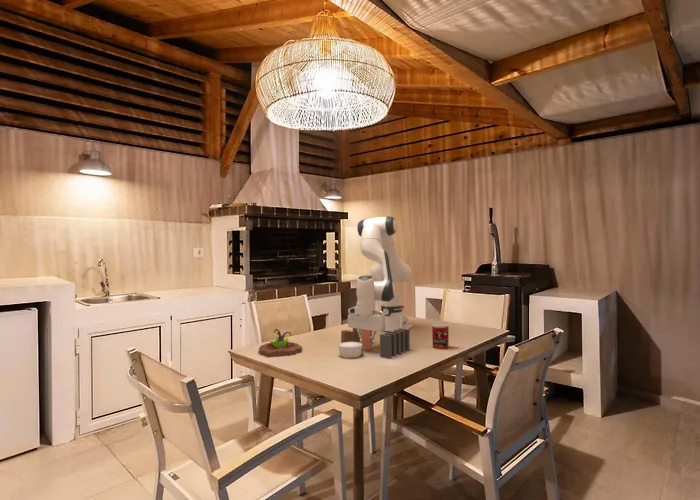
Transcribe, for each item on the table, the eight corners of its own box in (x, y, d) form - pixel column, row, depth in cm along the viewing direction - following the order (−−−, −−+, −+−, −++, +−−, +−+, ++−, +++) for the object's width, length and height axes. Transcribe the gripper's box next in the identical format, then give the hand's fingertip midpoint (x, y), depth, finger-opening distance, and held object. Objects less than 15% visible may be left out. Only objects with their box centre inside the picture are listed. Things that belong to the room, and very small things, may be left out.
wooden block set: (346, 348, 203) (347, 327, 202) (336, 343, 210) (337, 323, 209) (374, 343, 214) (375, 323, 213) (363, 339, 221) (364, 320, 220)
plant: (254, 350, 204) (253, 327, 203) (291, 345, 213) (291, 323, 213) (265, 359, 186) (265, 334, 186) (306, 353, 195) (305, 329, 195)
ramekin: (339, 352, 194) (338, 341, 194) (362, 352, 194) (362, 341, 194) (337, 359, 183) (337, 347, 183) (362, 359, 183) (362, 347, 183)
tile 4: (387, 354, 190) (386, 332, 190) (396, 355, 186) (396, 333, 186) (385, 355, 188) (384, 333, 188) (394, 356, 185) (394, 334, 185)
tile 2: (396, 350, 196) (395, 329, 196) (405, 352, 193) (405, 330, 193) (394, 351, 195) (394, 330, 195) (403, 352, 192) (403, 331, 192)
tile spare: (363, 346, 199) (363, 325, 199) (372, 347, 196) (371, 326, 196) (361, 347, 198) (361, 326, 198) (370, 348, 195) (369, 327, 194)
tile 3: (391, 352, 193) (391, 331, 193) (400, 354, 190) (400, 332, 190) (389, 353, 191) (389, 331, 191) (399, 354, 188) (398, 332, 188)
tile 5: (382, 356, 186) (381, 334, 186) (391, 357, 183) (391, 335, 183) (380, 356, 185) (379, 334, 185) (389, 358, 182) (389, 335, 182)
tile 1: (400, 349, 199) (400, 328, 199) (409, 350, 196) (409, 329, 196) (398, 349, 198) (398, 328, 198) (407, 351, 195) (407, 330, 195)
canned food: (431, 348, 199) (431, 326, 199) (433, 345, 206) (433, 323, 206) (447, 349, 196) (447, 326, 196) (449, 346, 203) (449, 323, 203)
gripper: (388, 310, 193) (388, 340, 193) (353, 307, 205) (353, 335, 205) (380, 312, 188) (381, 342, 188) (345, 309, 200) (346, 337, 200)
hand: (366, 338), depth 197 cm, fingers closed on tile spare, 5 cm apart
